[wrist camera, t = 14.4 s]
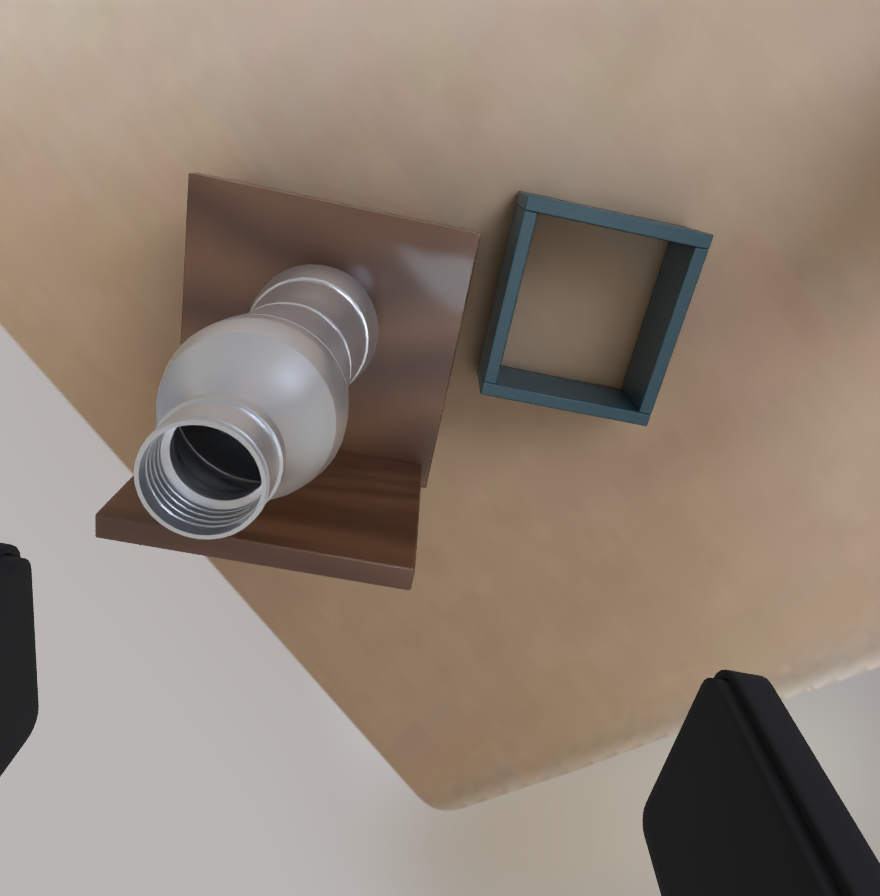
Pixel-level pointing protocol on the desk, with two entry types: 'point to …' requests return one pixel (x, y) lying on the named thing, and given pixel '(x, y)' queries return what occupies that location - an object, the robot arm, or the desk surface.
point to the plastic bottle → (256, 403)
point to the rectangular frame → (654, 336)
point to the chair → (370, 396)
